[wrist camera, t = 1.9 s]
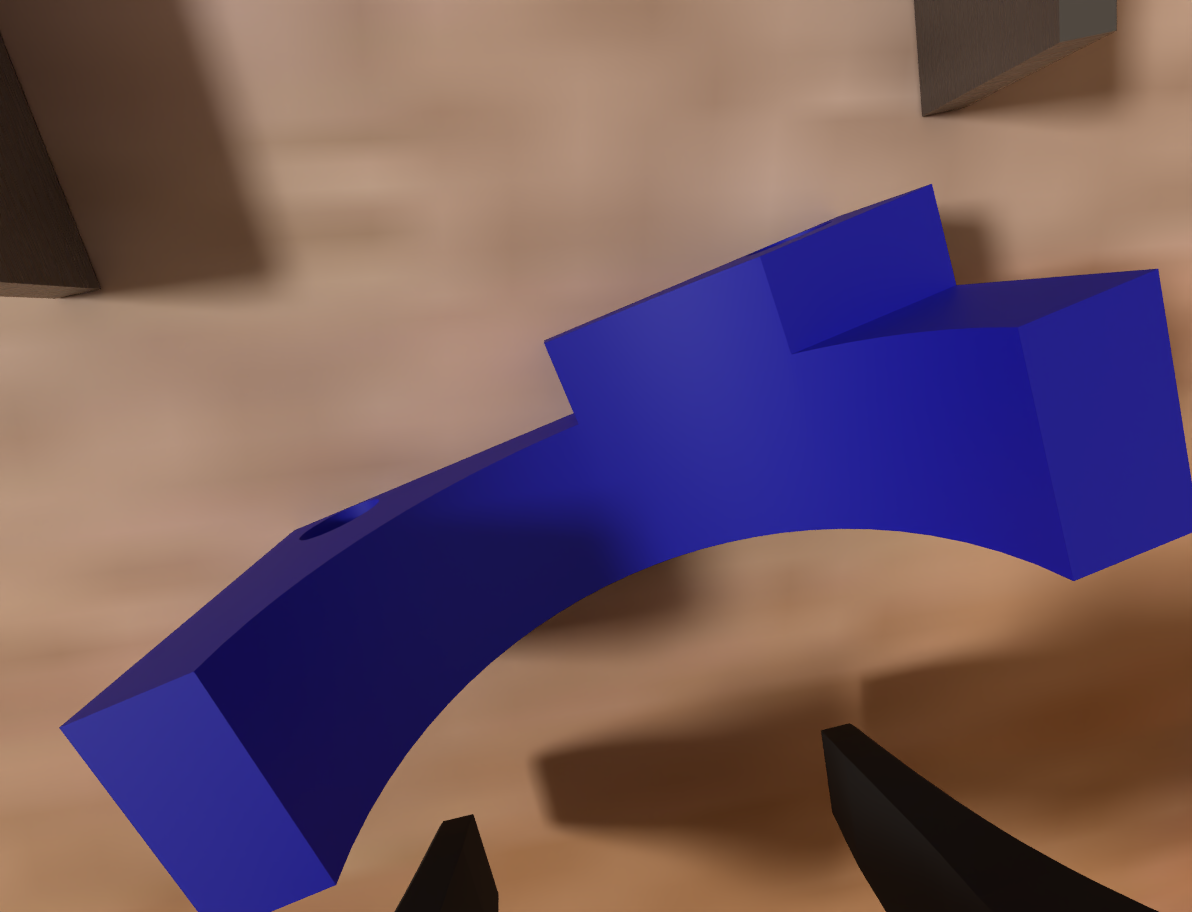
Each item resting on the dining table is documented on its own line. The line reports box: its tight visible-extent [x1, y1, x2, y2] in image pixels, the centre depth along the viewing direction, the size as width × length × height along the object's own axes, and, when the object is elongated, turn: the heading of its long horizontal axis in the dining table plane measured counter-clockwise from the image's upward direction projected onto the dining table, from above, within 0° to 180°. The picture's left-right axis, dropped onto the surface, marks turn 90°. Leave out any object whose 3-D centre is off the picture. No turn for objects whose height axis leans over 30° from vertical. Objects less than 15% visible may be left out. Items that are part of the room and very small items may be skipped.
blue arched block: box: [60, 184, 1192, 912], centre depth 9 cm, size 12×4×6 cm, turn 112°
